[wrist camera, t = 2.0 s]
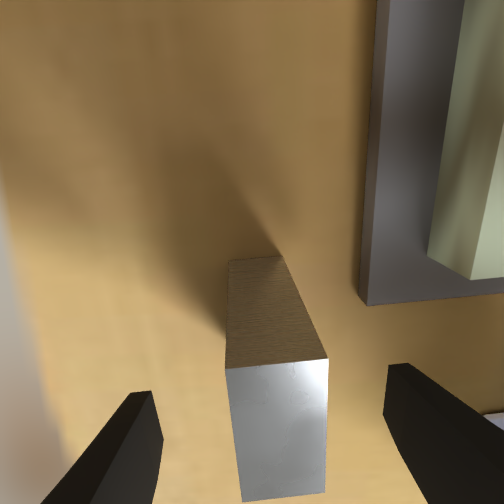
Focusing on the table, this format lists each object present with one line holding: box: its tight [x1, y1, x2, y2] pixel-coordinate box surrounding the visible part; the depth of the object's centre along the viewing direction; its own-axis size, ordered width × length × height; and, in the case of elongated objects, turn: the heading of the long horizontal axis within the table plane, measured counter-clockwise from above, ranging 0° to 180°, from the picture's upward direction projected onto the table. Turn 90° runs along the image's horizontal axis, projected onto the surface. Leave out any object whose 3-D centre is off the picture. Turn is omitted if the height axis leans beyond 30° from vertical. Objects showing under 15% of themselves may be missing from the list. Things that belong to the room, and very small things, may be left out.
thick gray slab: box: [225, 256, 328, 502], centre depth 11 cm, size 5×2×7 cm, turn 4°
